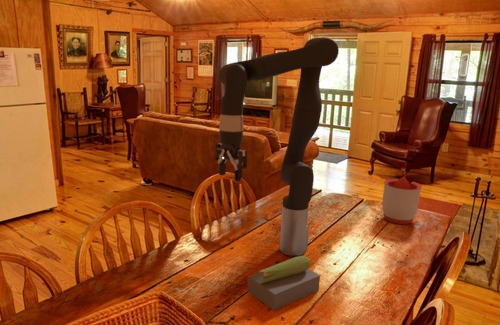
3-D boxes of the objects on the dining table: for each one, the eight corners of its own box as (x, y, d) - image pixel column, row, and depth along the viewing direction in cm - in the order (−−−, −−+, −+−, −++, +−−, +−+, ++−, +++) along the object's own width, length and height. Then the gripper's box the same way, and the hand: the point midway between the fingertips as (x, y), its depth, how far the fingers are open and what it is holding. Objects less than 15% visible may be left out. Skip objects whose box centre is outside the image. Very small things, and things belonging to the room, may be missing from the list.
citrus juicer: (420, 217, 186) (426, 175, 181) (412, 229, 171) (419, 184, 166) (385, 210, 194) (390, 169, 189) (375, 221, 179) (380, 177, 174)
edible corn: (316, 259, 122) (307, 249, 125) (260, 277, 112) (252, 266, 115) (312, 272, 124) (303, 262, 128) (257, 291, 114) (249, 279, 117)
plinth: (291, 273, 132) (292, 259, 130) (318, 290, 123) (320, 275, 121) (247, 291, 121) (248, 275, 120) (273, 310, 112) (274, 294, 111)
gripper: (254, 131, 125) (252, 181, 129) (227, 124, 136) (226, 171, 140) (235, 132, 121) (233, 185, 125) (208, 126, 131) (208, 174, 135)
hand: (229, 177), depth 132 cm, fingers open, 8 cm apart
